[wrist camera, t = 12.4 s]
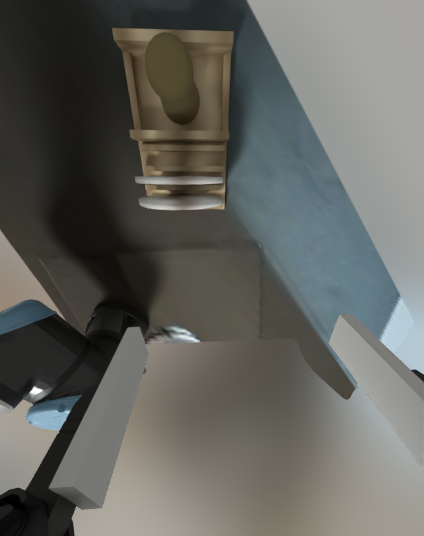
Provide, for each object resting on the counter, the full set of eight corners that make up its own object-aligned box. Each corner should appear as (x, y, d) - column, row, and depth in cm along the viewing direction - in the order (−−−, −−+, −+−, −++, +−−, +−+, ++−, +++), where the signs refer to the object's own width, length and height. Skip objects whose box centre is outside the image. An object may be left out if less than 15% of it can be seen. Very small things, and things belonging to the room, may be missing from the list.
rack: (150, 208, 36) (121, 226, 24) (126, 50, 26) (52, -62, 13) (223, 208, 37) (232, 226, 24) (229, 52, 26) (250, -54, 14)
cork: (203, 121, 29) (201, 95, 19) (167, 128, 29) (147, 106, 20) (195, 69, 26) (189, 9, 16) (156, 77, 26) (126, 23, 17)
